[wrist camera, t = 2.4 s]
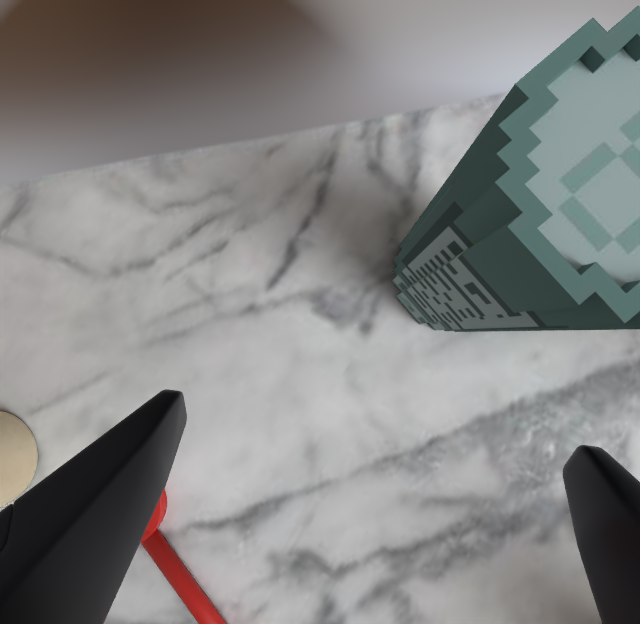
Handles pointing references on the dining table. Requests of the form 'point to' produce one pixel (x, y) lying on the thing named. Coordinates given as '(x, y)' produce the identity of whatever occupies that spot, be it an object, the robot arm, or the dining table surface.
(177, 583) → the spoon
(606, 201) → the can
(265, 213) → the dining table surface
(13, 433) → the candle
